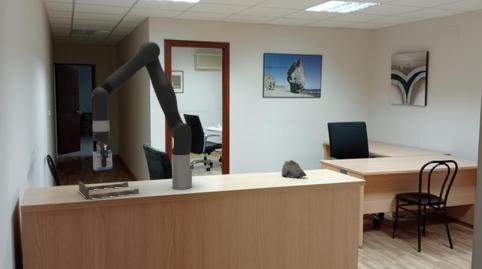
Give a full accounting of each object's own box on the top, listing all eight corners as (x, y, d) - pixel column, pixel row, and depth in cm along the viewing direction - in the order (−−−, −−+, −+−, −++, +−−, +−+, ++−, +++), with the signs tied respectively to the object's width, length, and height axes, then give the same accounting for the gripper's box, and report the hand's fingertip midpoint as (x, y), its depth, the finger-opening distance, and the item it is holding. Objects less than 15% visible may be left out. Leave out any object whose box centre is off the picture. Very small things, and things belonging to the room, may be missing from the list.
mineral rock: (307, 179, 250) (307, 161, 249) (290, 180, 246) (290, 162, 245) (295, 175, 262) (295, 158, 261) (279, 176, 258) (279, 159, 257)
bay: (127, 186, 230) (127, 176, 230) (138, 193, 213) (138, 183, 213) (79, 191, 218) (78, 181, 218) (87, 199, 201) (86, 189, 201)
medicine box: (96, 170, 207) (95, 152, 206) (93, 169, 211) (92, 151, 210) (112, 168, 212) (112, 150, 211) (109, 167, 216) (108, 149, 215)
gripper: (113, 130, 205) (114, 167, 207) (105, 128, 218) (107, 163, 219) (96, 131, 202) (98, 169, 203) (89, 129, 214) (91, 164, 216)
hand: (102, 165), depth 211 cm, fingers closed on medicine box, 4 cm apart
